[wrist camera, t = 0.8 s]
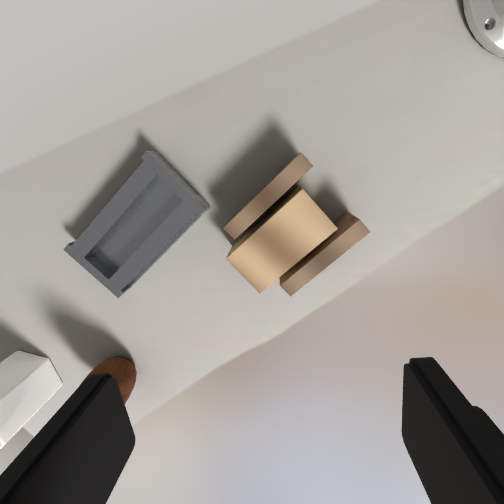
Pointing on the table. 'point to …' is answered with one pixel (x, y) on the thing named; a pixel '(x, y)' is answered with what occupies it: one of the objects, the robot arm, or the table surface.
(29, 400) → the jar
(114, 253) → the grey shallow tray
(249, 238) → the cardboard-coloured box
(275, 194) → the wooden blocks
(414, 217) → the table surface
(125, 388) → the wooden figurine
